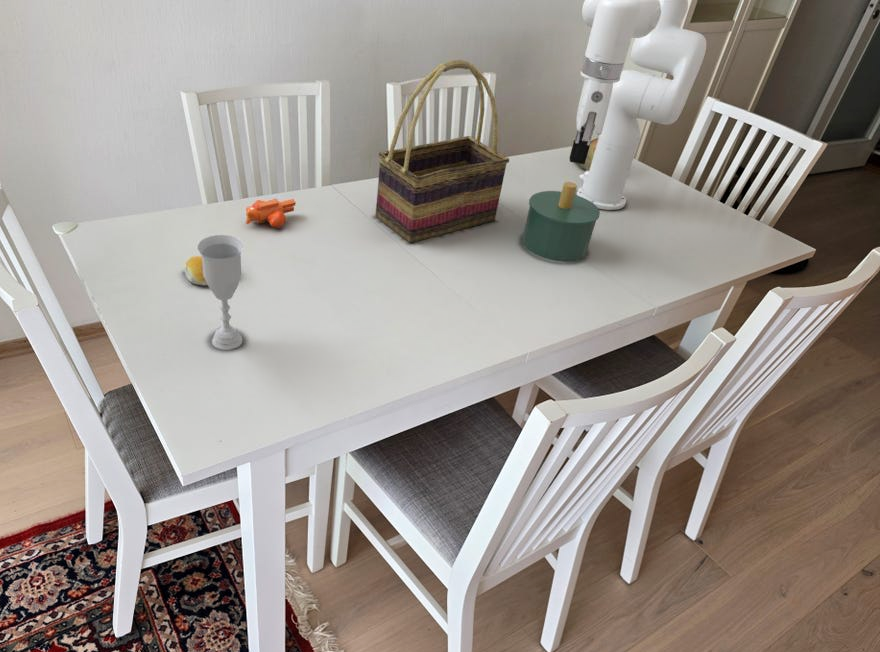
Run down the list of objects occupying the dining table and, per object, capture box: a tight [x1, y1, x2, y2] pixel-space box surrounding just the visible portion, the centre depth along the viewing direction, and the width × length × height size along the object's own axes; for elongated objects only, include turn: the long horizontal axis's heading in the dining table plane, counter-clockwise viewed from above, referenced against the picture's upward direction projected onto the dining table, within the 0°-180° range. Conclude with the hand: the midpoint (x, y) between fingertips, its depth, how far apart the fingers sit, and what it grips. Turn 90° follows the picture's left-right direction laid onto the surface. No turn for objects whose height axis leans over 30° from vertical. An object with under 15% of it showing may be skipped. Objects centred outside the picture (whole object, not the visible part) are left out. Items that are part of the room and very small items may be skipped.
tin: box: [521, 206, 597, 262], centre depth 150 cm, size 14×14×10 cm
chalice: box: [197, 234, 244, 351], centre depth 109 cm, size 7×7×18 cm
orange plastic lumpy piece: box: [245, 198, 297, 229], centre depth 147 cm, size 5×8×12 cm
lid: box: [528, 181, 601, 225], centre depth 145 cm, size 15×15×6 cm
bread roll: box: [183, 255, 208, 286], centre depth 129 cm, size 8×9×4 cm
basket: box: [375, 59, 510, 244], centre depth 147 cm, size 26×15×35 cm, turn 126°
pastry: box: [577, 137, 599, 171], centre depth 190 cm, size 14×12×8 cm
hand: (576, 161), depth 140 cm, fingers closed
